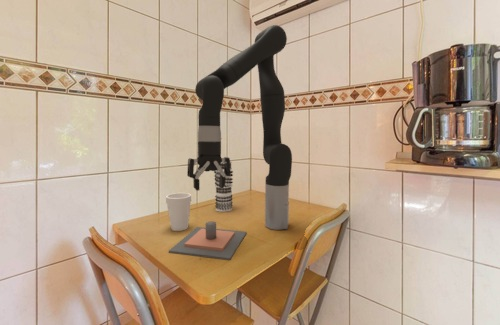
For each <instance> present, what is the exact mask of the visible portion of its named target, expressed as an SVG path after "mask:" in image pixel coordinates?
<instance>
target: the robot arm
mask: <svg viewBox="0 0 500 325" xmlns="http://www.w3.org/2000/svg"><path fill="white" fill-rule="evenodd" d="M287 41H288V37H287V33H286V31H285V29H284V28H283V27H281V26H280V25H277V24H273V25H270V26H268V27H266V28H265V29H263V30H262V31H260V32H259V33H258V34H257V35H256V36H255V39H254V43H253V44H251V45H250V46H248V47H246V48H245V49H244V50H241V51H240V52H238V53H237V54H236V55H234V56H232V57H230V58H229V59H228V60H227V61H226V62H223V63H222V65H221V66H219V67H218V68H217V69H216V70H214V71H213V72H211V73H209V74H208V75H206V76H204V77H203V78H201V79H200V80H199V81H198V82H197V83H196V85H195V90H194V91H195V94H196V97H197V98H198V99H200V100H201V101H202V105H201V107H200V109H199V110H198V129H197V158H190V157H189V158H188V160H187V172H186V173H187V177H189V178H191V179H192V180H193V188H194V189H195V191H196V192H197V191H200V177H201V175H203V174H204V172H210V171H211V172H214V171H215V170H216V171H217V172H218V174H219V175H220V177H219V187H220V188H224V186H225V176H227V175H230V161H231V159H230V157H227V156H224V157H222V156H221V155H222V130H221V111H222V107H223V103H224V96H225V89H227V88H228V87H230V86H232V85H234V84H236V83H237V82H238V81H240V79H242V78H243V77H244V76H246V75H247V74H248V73H250V71H252V70H253V69H254V68H255V67H256V66H257V70H258V71H257V72H258V81H259V94H260V96H259V97H260V108H261V121H262V129H263V132H262V133H263V138H262V139H263V142H262V143H263V144H262V155H263V160H264V161H265V163H266V164H267V165H269V166H268V175H266V176H265V186H264V188H265V194H264V196H265V197H264V198H265V200H264V201H265V206H264V208H265V209H264V212H265V213H264V225H265V227H266V228H267V229H270V230H275V231H276V230H277V231H278V230H279V231H280V230H288V228H289V224H290V223H289V218H290V201H289V198H290V197H289V196H290V193H289V192H290V191H289V190H290V189H289V188H290V179H291V176H292V164H293V155H292V154H293V153H292V150H291V148H290V147H289V146H288V145H287V144H285V143H283V142H282V136H281V132H282V131H281V130H282V123H283V120H284V117H285V112H286V111H285V110H286V109H285V108H286V102H285V100H286V99H285V98H286V97H285V89H284V87H283V85H282V83H281V81H280V79H279V78H278V76H277V74H276V71H275V63H274V56H275V55H277V54H278V53H281V52H282V51H283V49H284V48H285V47H286V45H287ZM221 162H223V164H224V172H223V170H222V168H221V167H220V166H219V165H220V164H221ZM196 164H198V167H197V169H196V170H195V166H196ZM194 171H195V172H194Z"/></svg>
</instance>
